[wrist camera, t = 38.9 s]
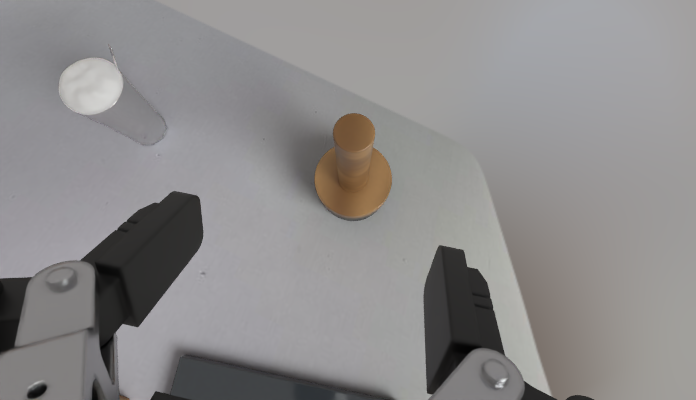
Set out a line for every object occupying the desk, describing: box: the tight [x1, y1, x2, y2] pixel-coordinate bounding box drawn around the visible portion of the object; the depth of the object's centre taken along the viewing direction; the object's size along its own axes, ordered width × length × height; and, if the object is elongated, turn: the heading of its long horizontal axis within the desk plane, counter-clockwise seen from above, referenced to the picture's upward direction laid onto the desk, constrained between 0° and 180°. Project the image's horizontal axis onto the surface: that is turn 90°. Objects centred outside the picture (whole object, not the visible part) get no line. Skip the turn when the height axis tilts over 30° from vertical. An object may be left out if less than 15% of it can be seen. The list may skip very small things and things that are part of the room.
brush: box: [315, 113, 392, 221], centre depth 27 cm, size 6×6×13 cm
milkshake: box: [59, 44, 167, 145], centre depth 30 cm, size 5×5×10 cm
